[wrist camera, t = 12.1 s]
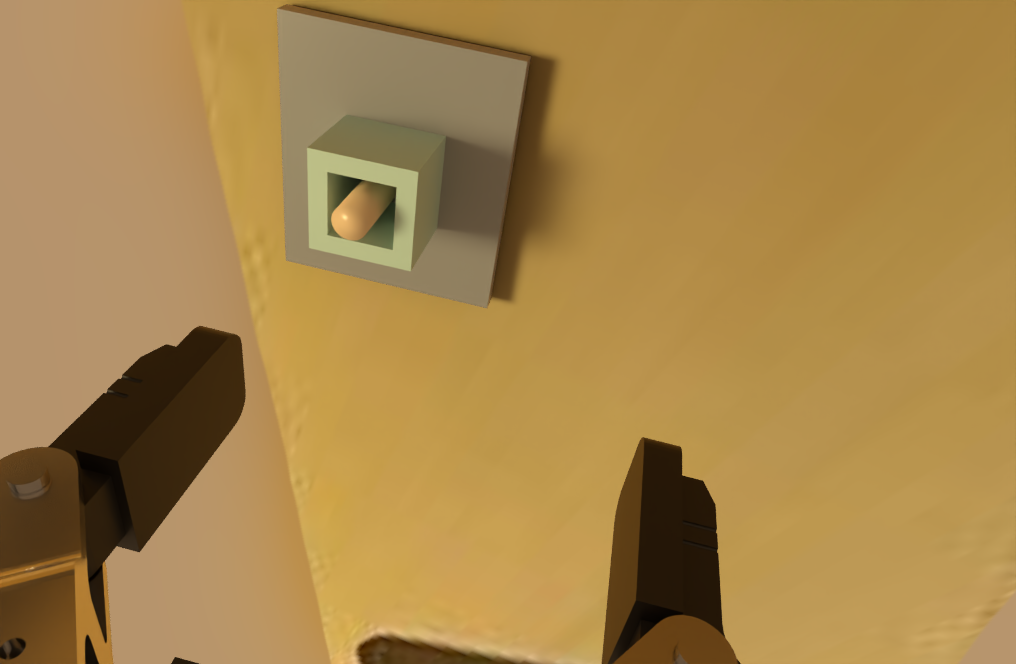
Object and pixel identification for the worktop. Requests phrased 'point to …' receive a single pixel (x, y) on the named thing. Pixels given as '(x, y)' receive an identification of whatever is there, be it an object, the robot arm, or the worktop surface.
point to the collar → (381, 159)
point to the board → (412, 104)
